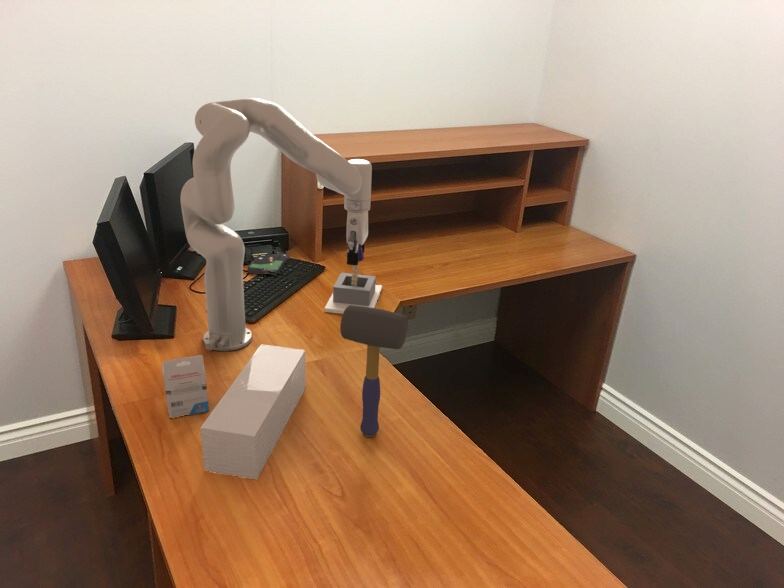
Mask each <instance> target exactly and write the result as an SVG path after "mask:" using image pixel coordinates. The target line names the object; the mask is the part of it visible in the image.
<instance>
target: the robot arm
mask: <svg viewBox="0 0 784 588" xmlns="http://www.w3.org/2000/svg"><path fill="white" fill-rule="evenodd" d="M194 124H195V128H196V130H197V131H198V133H199V134H200V135H201V136H202V138H201V139H200V140H199V142H198V143H197V145H196V147H195V149H194V152H193V156H192V174H193V177H192V178H189V179H187V181H186V182H185V183H184V184H183V186H182V188H181V192H180V201H179V202H180V208H181V214H182V221H183V224H184V225H183V226H184V231H185V237H186V239H187V240H186V241H187V242H188V244H189V246H190V248H192V249H193V250H194V251H195V252H197V253H198V254H199V255H201V257H203V258H204V259H205V260H206V261H205V262H206V266H205V270H204V277H203V278H204V289H205V290H204V292H205V293H204V294H205V302H206V304H205V305H206V314H207V315H206V316H207V325H208V326H207V327H208V330H207V331H206V332H205V333H204V334H203V338H202V339H203V344H204V348H205V349H206V350H208V351H211V350H213V351H220V352H228V351H232V352H233V351H235V350H236V351H237V350H239V349H243V348H244V347H246V346H248V345H249V344H250V343H251V342H252V339H253V333H252V331H251V329H249V328H247V327H246V310H245V293H244V275H243V273H244V272H243V269H244V260H245V252H246V251H245V249H246V247H245V244H244V241H243V239H242V237H241V236H240V235H239V234H238V232H237V231H235V230H233V229H232V228H230V227H228V226H227V225H225V224H227V223H228V222H229V221H230V220H232V218H233V216H234V214H235V199H234V191H233V182H232V174H231V173H232V172H231V166H232V165H231V163H232V161H233V160H232V159H233V157H234V155H235V154H236V152H237V151H238V150H239V149H240V148H241V147H242V146H243V145H244V144H245V143H246V142H247V139H248V137H249V135H250V133H253V134H256V135H259V136H261V138H264V140H266V141H267V142H269V144H271V145H272V146H274V147H275V148H276V149H278V151H279V152H281V153H283V154H284V156H286V158H288V159H289V160H291V161H292V162H294V163H295V164H296V165H298V166H300V167H302V168H304V169H306V170H309V171H310V172H312V173H315V177H316V180H317V182H318V183H319V184H320V185H322V186H323V187H325V188H326V189H329V190H330V191H334V192H336V193H337V194H341V195H343V196H344V198H343V199H344V200H343V201H344V204H343V205H344V206H343V207H344V210H346V211H347V217H346V232H345V233H346V243H347V250H346V251H347V252H346V253H347V254H346V264H347V265H350V266H353V265H356V266H357V265H358V266H359V263H358V252H357V251H358V245H360V246H361V247H362V250H363V254H364V253H365V244H366V240H367V238H368V236H369V211H370V210H371V199H372V197H371V196H372V195H371V194H372V175H373V173H372V172H373V171H372V170H373V168H372V167H373V166H372V163H371V162H370V161H368V160H367V159H361V158H354V159H349V160H348V159H347V158H345V157H344V156H343V155H342V154H340V153H339V152H337V151H336V150H334V149H333V148H332V147H330V146H329V145H327V144H326V143H324V141H322V140H321V139H320V138H318V137H316V135H313V133H311V131H309V130H308V129H307V128H306V127H305V126H304V125H303V124H301V123H300V122H299V121H298V120H297V119H295V118H294V117H293V115H291V114H290V113H289V112H288V111H287V110H285V109H284V108H283V106H280V105H279V104H278V103H275V102H272V101H268V100H265V99H263V98H262V99H261V98H257V97H252V98H251V97H250V98H249V97H248V98H240V99H232V100H223V101H221V100H220V101H214V102H213V101H212V102H207V103H206V104H204V105H202V106H201V107H199V108H198V110H197V111H196V113H195V116H194ZM354 245H356V248H355V246H354Z"/></svg>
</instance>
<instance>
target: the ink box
mask: <svg viewBox="0 0 784 588" xmlns="http://www.w3.org/2000/svg"><path fill="white" fill-rule="evenodd" d="M162 361H163V362H161V367H162V379H163V384H164V385H163V386H164V391H165V398H166V404H167V405H166V406H167V407H166V408H167V411H168V417H169V419H170V418H171V417H177V416H182V415H188V416H191V415H190V414H193V415H196V414H195V413H198V414H202V413H201V412H203V413H207V411H208V412H210V409H209V397H208V387H207V379H206V370H205V369H206V368H205V365H204V364H205V363H204V356H203V355H202V354H198V355H194V356H186V357H179V358H175V359H167V360H162ZM177 418H178V417H177Z"/></svg>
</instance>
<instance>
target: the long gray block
mask: <svg viewBox="0 0 784 588" xmlns="http://www.w3.org/2000/svg"><path fill="white" fill-rule="evenodd" d="M306 379H307V377H306V349H301V348H293V347H285V346H276V345H269V344H262V343H261V344H260V345H259V346H258V348H257V349H256V350H255V352H254V353H253V355H251V358H250V359H249V360H248V361H247V363H246V364H245V366H244V367H243V369H241V371H240V373H239V374H238V375H237V376H236V378H235V379H234V381H233V382H232V383H231V385H230V386H229V387H228V389H227V390H226V392H225V393H224V395H223V396H222V397H221V399H220V400H219V401H218V402H217V404H216V406H215V407H213V408H214V409H213V410H212V411H211V412H210V414H209V415H208V417H207V418H206V419H205V421H204V422H203V424H202V425H201V426H200V428H199V430H200V438H201V439H200V440H201V449H202V450H201V451H202V460H203V468H204V470H207V471H211V472H216V473H215V474H217V473H221V474H220V475H223V474H228V475H227V476H229V475H235V476H240V477H239V478H241V477H245V478H244V479H247V478H252V479H251V480H253V479H257V480H258V479H259V477H260V476H261V473H262V472H261V471H263V470H264V468H263V467H265V465H266V463H267V462H268V460H269V458H270V456H271V454H272V453H273V450H274V449H275V447H276V445H277V443H278V441H279V439H280V437H281V436H280V435H282V434H283V431H284V429H285V428H286V427H287V424H288V422H289V420H290V419H291V417H292V415H293V413H294V411H295V408H296V407H297V405H298V403H299V402H300V399H301V397H302V396H303V394H304V392H305V390H306V385H307V384H306V383H307V382H306V381H307V380H306ZM289 418H290V419H289ZM281 433H282V434H281ZM262 469H263V470H262ZM211 472H210V473H211ZM235 476H234V477H235Z"/></svg>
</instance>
